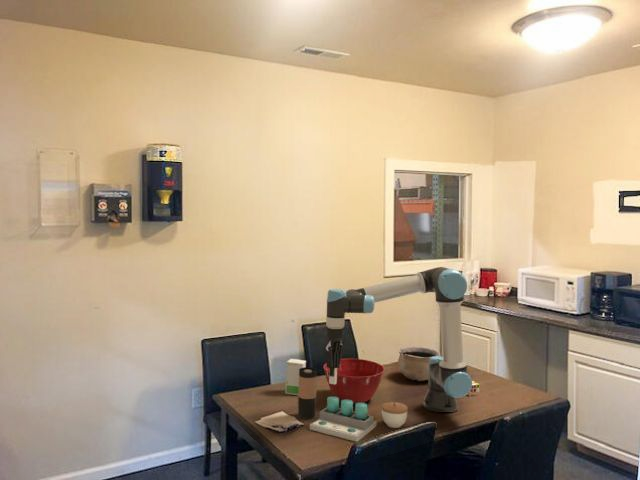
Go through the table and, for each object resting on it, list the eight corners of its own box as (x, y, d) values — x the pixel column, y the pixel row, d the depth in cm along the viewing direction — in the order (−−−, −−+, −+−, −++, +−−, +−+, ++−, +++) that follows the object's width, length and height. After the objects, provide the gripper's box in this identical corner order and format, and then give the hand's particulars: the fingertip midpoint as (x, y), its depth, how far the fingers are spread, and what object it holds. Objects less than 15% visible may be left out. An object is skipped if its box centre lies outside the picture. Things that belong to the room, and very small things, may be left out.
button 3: (340, 409, 222) (340, 397, 221) (335, 413, 217) (335, 401, 217) (330, 407, 224) (330, 395, 224) (324, 410, 220) (325, 398, 220)
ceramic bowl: (392, 373, 292) (393, 346, 292) (429, 372, 296) (430, 345, 296) (405, 386, 271) (406, 357, 270) (446, 385, 275) (447, 356, 274)
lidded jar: (404, 420, 226) (405, 398, 225) (409, 430, 215) (410, 407, 214) (379, 419, 225) (379, 397, 225) (383, 430, 214) (383, 407, 214)
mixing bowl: (380, 413, 233) (381, 378, 232) (316, 406, 239) (317, 372, 238) (385, 392, 261) (386, 361, 260) (328, 387, 266) (329, 356, 266)
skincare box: (284, 394, 254) (285, 361, 253) (288, 389, 260) (289, 358, 260) (301, 395, 252) (302, 363, 251) (305, 391, 258) (306, 359, 258)
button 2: (354, 413, 218) (354, 401, 218) (349, 416, 214) (349, 404, 214) (344, 410, 221) (344, 398, 220) (338, 414, 216) (339, 402, 216)
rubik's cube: (479, 395, 260) (479, 384, 260) (469, 396, 258) (470, 385, 258) (472, 391, 265) (472, 380, 265) (462, 392, 263) (463, 381, 263)
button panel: (376, 426, 218) (376, 414, 218) (356, 441, 202) (357, 429, 202) (331, 415, 228) (331, 403, 228) (309, 429, 213) (310, 417, 213)
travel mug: (305, 411, 232) (307, 366, 232) (319, 415, 228) (320, 369, 227) (294, 416, 227) (295, 369, 226) (307, 420, 222) (308, 373, 221)
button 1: (368, 416, 215) (369, 404, 215) (363, 420, 211) (364, 407, 211) (358, 413, 217) (358, 401, 217) (353, 417, 213) (353, 405, 213)
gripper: (334, 323, 226) (332, 377, 228) (319, 328, 215) (316, 385, 216) (350, 325, 223) (348, 381, 224) (335, 330, 211) (333, 389, 213)
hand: (332, 383), depth 220 cm, fingers closed
